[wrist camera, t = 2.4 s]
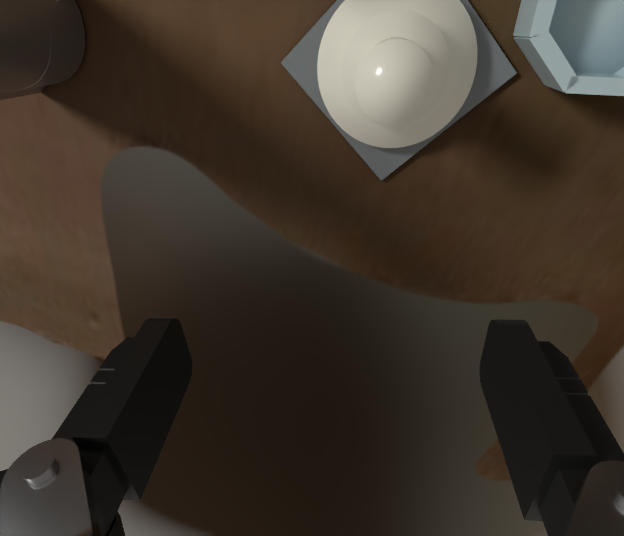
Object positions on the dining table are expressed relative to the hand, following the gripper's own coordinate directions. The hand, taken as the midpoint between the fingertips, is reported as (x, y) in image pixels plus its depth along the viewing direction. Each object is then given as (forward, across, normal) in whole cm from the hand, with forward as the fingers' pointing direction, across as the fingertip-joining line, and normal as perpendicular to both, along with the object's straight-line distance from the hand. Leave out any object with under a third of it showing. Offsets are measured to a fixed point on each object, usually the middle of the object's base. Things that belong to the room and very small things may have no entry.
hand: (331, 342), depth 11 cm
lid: (+26, +4, +3) cm, 26 cm away
